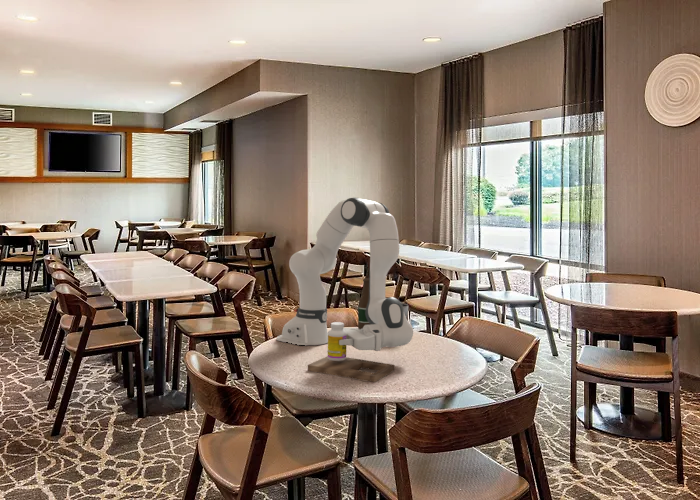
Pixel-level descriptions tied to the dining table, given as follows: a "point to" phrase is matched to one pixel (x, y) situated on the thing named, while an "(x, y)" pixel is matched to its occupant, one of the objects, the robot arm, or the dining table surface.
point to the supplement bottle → (336, 342)
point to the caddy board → (352, 368)
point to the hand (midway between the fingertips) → (334, 339)
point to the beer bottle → (363, 305)
